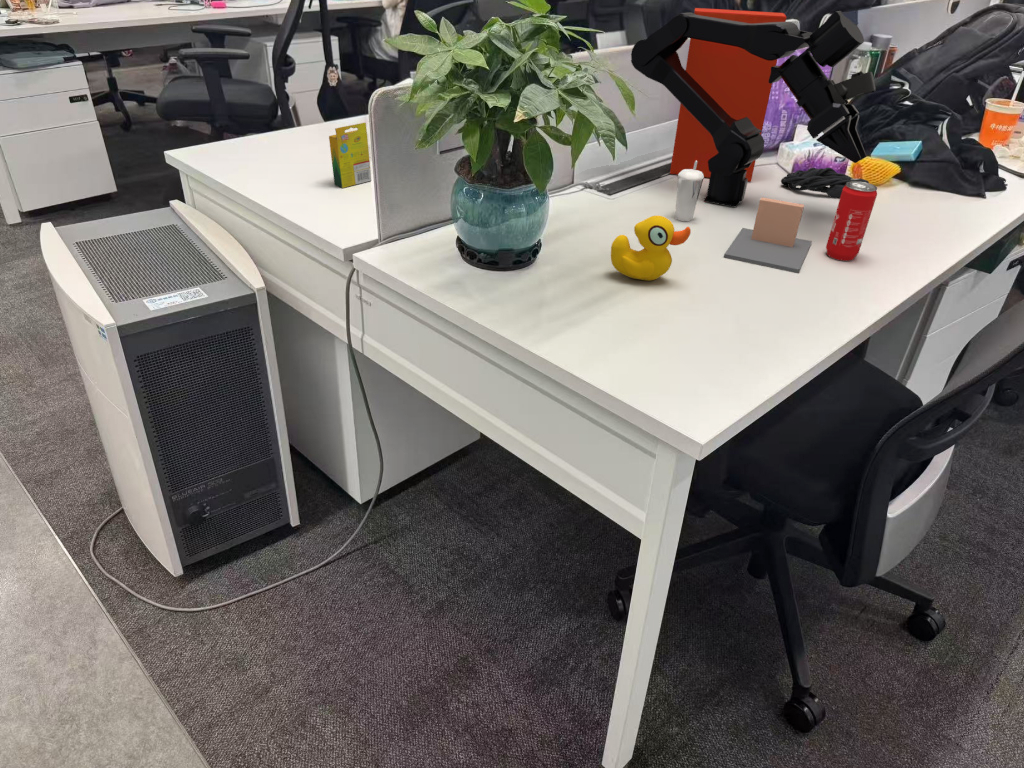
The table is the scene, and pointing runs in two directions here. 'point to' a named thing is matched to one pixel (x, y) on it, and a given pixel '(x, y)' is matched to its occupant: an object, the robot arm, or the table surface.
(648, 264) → the duckling
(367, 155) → the crayon box
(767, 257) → the mat
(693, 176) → the milkshake
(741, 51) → the file binder
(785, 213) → the tile
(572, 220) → the table surface
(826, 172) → the cable
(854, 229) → the beverage can
